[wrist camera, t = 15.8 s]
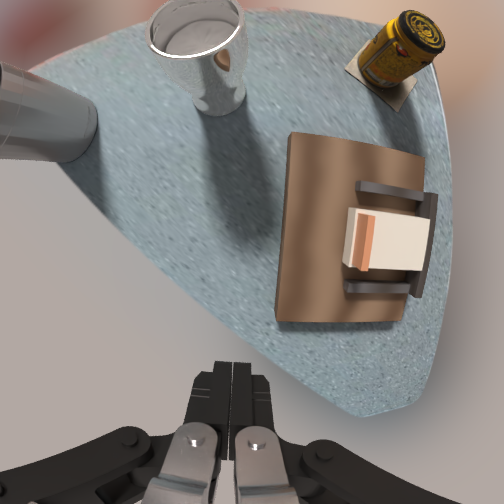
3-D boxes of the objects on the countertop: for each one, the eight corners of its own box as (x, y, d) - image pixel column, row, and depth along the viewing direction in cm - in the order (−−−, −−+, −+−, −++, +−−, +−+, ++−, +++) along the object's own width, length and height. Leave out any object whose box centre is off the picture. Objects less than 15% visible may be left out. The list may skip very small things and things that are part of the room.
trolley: (338, 258, 28) (357, 274, 22) (344, 206, 26) (366, 211, 21) (407, 263, 28) (434, 277, 22) (414, 216, 27) (443, 222, 21)
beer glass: (257, 75, 26) (261, -5, 11) (238, 127, 27) (226, 70, 13) (200, 62, 26) (167, -13, 11) (180, 113, 27) (125, 58, 12)
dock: (274, 309, 32) (278, 334, 26) (287, 137, 28) (296, 124, 22) (390, 310, 32) (411, 331, 27) (411, 159, 28) (439, 155, 22)
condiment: (368, 39, 24) (408, -6, 13) (416, 80, 25) (470, 51, 14) (343, 69, 26) (383, 21, 14) (396, 113, 27) (454, 87, 15)
